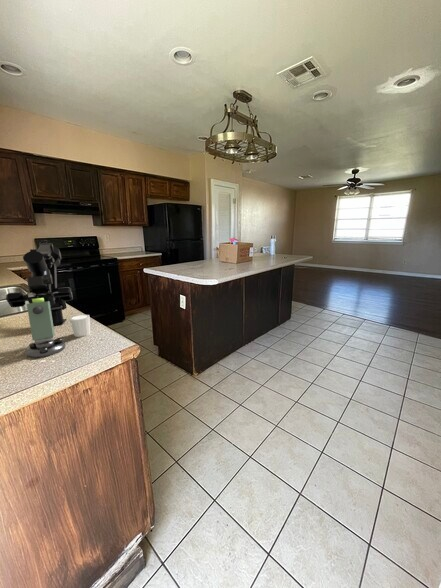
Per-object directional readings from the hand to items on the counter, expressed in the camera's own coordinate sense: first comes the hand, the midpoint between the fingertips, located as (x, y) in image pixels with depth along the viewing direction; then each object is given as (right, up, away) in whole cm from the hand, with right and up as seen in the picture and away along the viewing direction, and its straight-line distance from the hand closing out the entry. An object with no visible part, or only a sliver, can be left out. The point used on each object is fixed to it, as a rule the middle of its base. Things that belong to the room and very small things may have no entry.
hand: (42, 317), depth 85 cm
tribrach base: (+2, -11, -1) cm, 11 cm away
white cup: (+7, -8, +12) cm, 16 cm away
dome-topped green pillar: (+3, -8, -3) cm, 9 cm away
